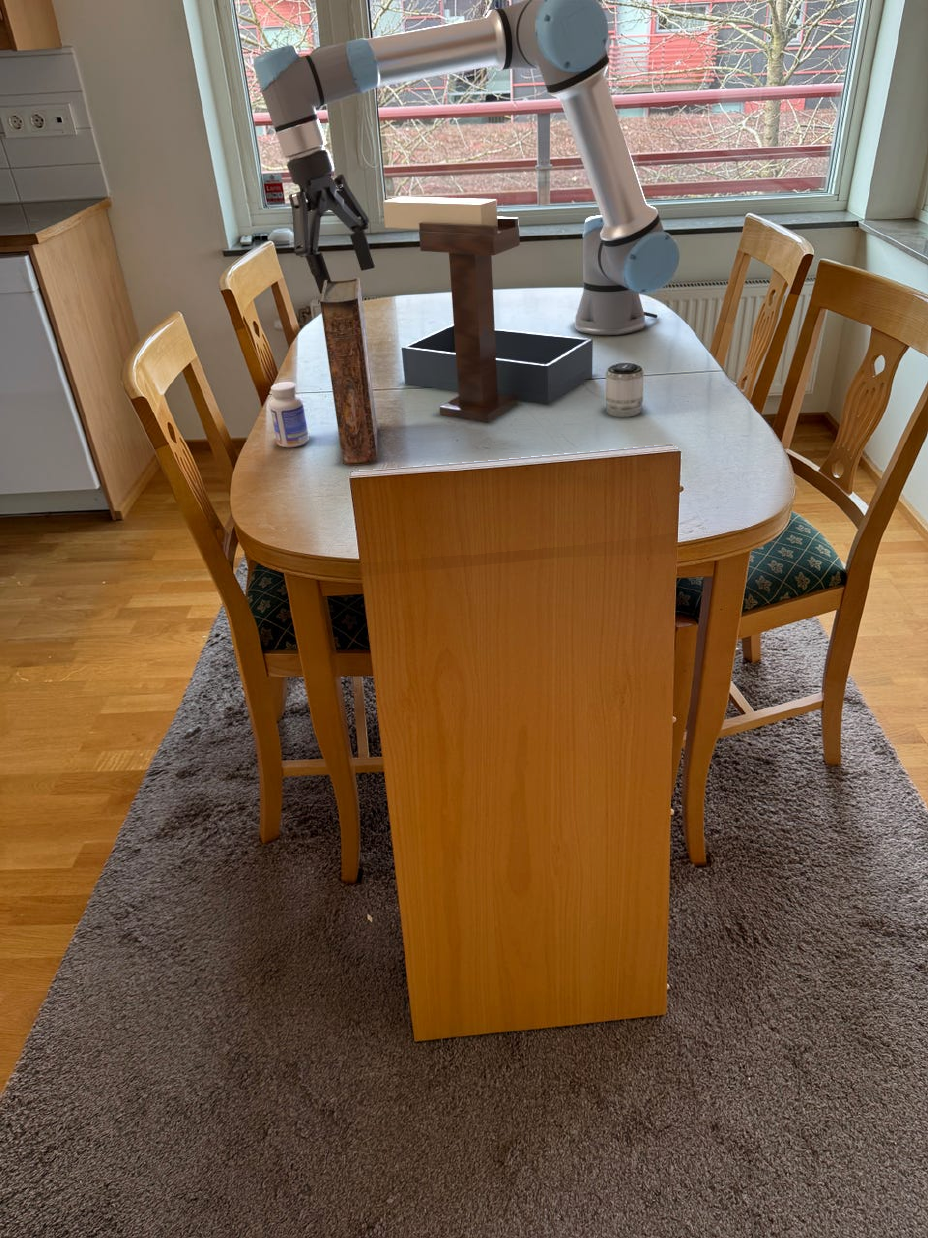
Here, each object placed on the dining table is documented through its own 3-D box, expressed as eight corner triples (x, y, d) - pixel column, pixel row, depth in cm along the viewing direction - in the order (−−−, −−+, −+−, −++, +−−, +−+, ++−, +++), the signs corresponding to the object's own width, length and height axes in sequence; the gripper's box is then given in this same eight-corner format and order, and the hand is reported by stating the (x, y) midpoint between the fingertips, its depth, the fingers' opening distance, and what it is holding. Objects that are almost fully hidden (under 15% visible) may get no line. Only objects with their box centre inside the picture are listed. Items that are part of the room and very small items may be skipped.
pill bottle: (314, 437, 155) (305, 381, 150) (299, 449, 151) (290, 391, 146) (286, 435, 157) (276, 379, 152) (271, 447, 153) (260, 390, 148)
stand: (527, 405, 162) (522, 216, 145) (498, 424, 155) (489, 227, 138) (461, 395, 169) (449, 213, 152) (430, 413, 162) (414, 224, 145)
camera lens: (646, 406, 158) (648, 361, 153) (636, 419, 153) (638, 373, 149) (611, 403, 160) (612, 359, 156) (600, 415, 155) (601, 370, 151)
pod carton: (498, 226, 146) (496, 199, 143) (482, 232, 142) (480, 204, 140) (402, 222, 155) (399, 196, 153) (385, 227, 151) (382, 201, 149)
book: (377, 463, 144) (357, 300, 130) (342, 466, 144) (319, 303, 130) (377, 426, 158) (359, 275, 144) (345, 429, 157) (324, 278, 144)
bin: (592, 376, 174) (592, 339, 170) (548, 405, 161) (547, 366, 158) (454, 358, 189) (452, 324, 185) (404, 383, 177) (401, 347, 173)
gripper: (330, 143, 165) (368, 263, 176) (244, 175, 148) (292, 305, 159) (362, 133, 161) (399, 256, 172) (278, 164, 144) (325, 299, 155)
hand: (348, 280), depth 165 cm, fingers open, 13 cm apart
